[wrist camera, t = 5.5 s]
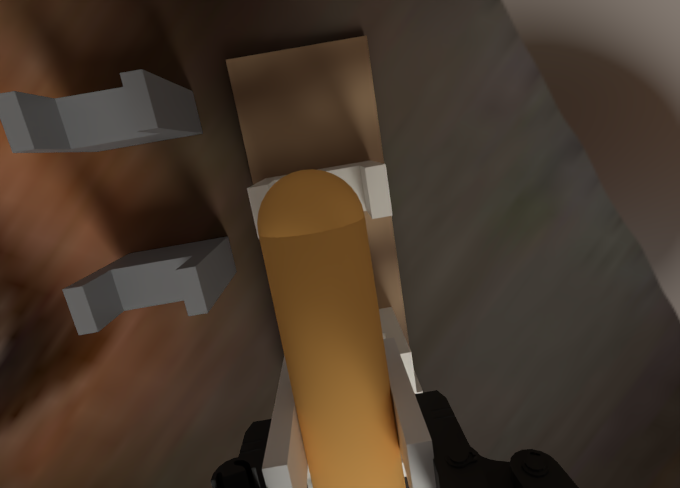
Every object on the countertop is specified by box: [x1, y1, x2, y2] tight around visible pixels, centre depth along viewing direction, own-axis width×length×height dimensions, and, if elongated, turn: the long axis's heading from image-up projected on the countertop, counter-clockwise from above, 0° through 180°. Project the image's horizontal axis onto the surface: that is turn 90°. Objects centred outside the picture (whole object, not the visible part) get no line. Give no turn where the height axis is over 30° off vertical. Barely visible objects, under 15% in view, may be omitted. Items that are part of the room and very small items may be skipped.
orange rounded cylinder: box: [257, 169, 406, 488], centre depth 15 cm, size 20×4×4 cm, turn 9°
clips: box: [247, 160, 423, 488], centre depth 28 cm, size 22×9×7 cm, turn 10°
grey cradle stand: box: [0, 69, 237, 335], centre depth 26 cm, size 14×8×8 cm, turn 10°
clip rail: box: [226, 35, 409, 346], centre depth 31 cm, size 30×10×1 cm, turn 9°
